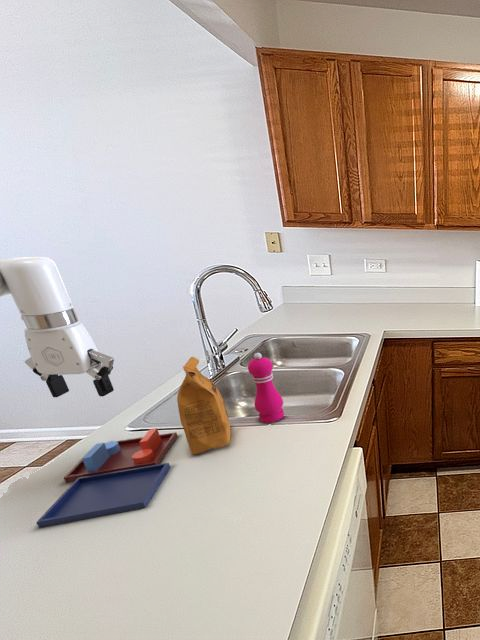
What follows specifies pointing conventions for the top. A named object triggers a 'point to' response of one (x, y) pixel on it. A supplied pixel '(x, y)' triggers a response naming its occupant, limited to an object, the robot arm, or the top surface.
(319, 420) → the top surface
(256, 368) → the pepper mill
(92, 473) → the maroon tray
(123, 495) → the navy tray
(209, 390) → the coffee package
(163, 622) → the top surface
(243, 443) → the top surface
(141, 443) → the coral spoon
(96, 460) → the blue spoon
